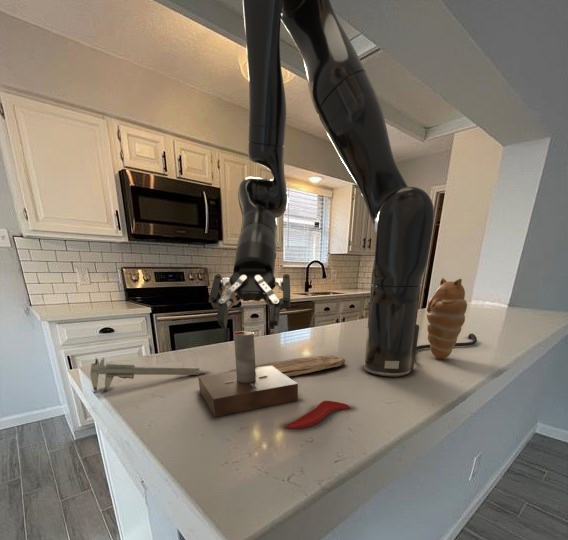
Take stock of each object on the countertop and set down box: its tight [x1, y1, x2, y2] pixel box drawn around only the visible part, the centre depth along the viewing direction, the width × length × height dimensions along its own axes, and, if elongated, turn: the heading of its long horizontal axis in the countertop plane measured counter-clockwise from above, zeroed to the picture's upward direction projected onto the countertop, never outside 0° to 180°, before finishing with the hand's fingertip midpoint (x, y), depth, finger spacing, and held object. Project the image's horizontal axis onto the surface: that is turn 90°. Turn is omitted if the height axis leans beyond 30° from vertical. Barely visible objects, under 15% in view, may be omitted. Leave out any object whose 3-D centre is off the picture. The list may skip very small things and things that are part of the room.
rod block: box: [198, 366, 299, 418], centre depth 55 cm, size 14×11×3 cm
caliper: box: [89, 356, 206, 392], centre depth 62 cm, size 20×1×6 cm, turn 119°
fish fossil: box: [234, 354, 346, 378], centre depth 69 cm, size 26×10×1 cm, turn 118°
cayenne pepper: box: [284, 400, 351, 429], centre depth 48 cm, size 12×5×2 cm, turn 115°
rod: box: [233, 330, 256, 383], centre depth 53 cm, size 3×3×8 cm
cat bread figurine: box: [426, 277, 468, 359], centre depth 72 cm, size 9×8×18 cm
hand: (247, 326), depth 55 cm, fingers open, 8 cm apart
